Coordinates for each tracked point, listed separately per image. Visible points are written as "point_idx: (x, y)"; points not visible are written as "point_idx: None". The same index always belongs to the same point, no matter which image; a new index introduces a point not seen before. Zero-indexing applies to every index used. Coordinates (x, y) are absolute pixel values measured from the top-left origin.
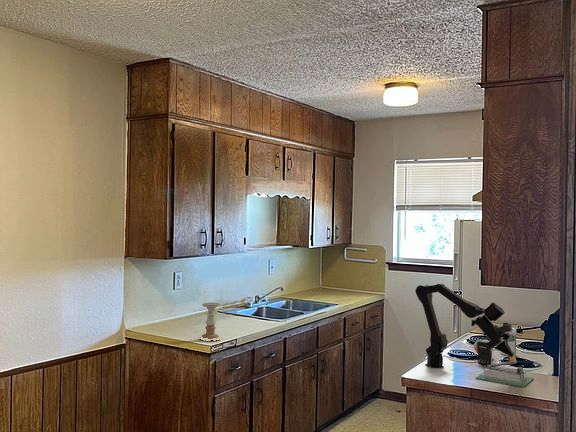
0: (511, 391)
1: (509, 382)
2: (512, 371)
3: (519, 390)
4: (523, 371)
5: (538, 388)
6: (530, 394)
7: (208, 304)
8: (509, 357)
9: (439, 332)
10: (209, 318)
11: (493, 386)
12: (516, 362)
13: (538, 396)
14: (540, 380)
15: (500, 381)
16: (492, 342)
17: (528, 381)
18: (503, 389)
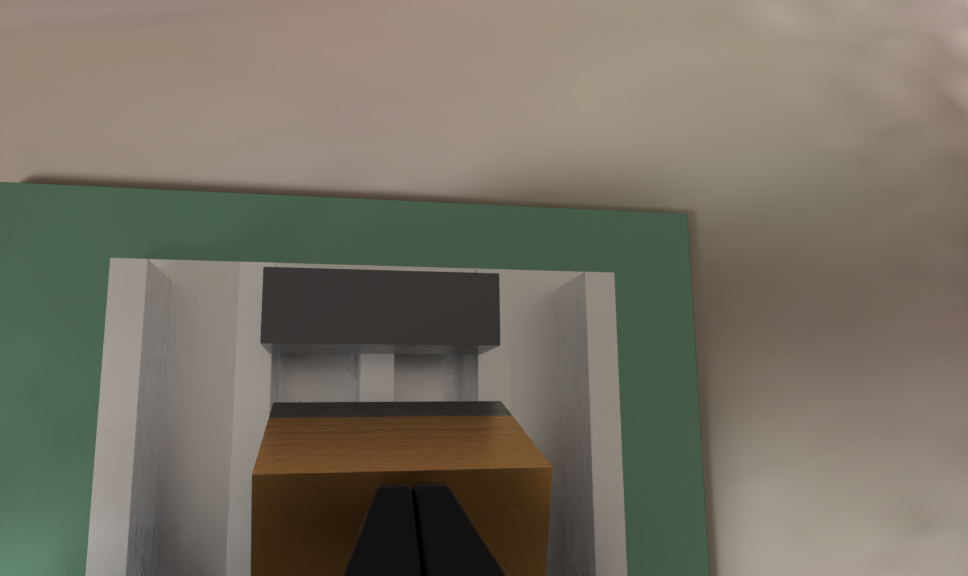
0: (964, 302)
1: (636, 430)
2: None
3: (848, 232)
4: (147, 301)
5: (565, 47)
6: (913, 90)
7: None
8: (545, 572)
9: None
10: None
11: (925, 568)
12: (308, 404)
13: (921, 4)
14: (10, 83)
15: (680, 563)
16: None
17: (344, 207)
18: (957, 409)
